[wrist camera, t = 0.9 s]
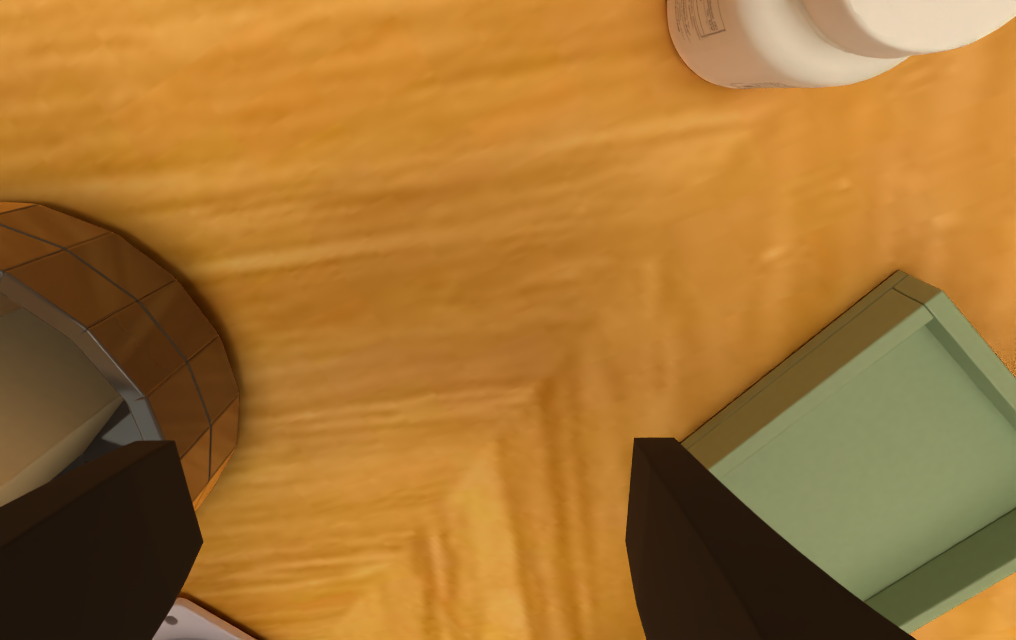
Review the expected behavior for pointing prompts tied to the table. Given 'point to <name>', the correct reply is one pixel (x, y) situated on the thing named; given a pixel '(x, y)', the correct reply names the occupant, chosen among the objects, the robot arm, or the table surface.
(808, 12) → the pill bottle
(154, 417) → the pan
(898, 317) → the tray
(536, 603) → the table surface
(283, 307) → the table surface
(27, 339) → the block
